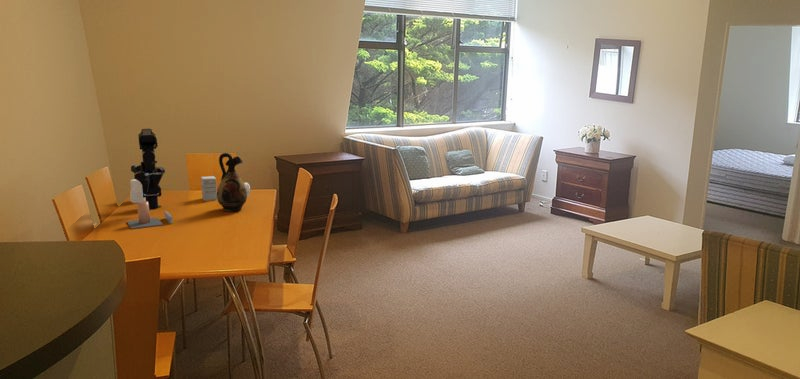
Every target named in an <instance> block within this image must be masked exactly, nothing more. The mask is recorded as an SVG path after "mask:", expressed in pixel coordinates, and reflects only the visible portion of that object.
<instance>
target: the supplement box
mask: <svg viewBox="0 0 800 379" xmlns="http://www.w3.org/2000/svg"><path fill="white" fill-rule="evenodd" d="M200 179H201V181H200V183H201V196H202V197H201V198H202V199H203V201H204V202H209V201H218V200H217V189H218V187H217V178H216V177H215V176H214V175H209V176H208V175H207V176H200Z"/></svg>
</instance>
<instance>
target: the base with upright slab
mask: <svg viewBox="0 0 800 379" xmlns="http://www.w3.org/2000/svg"><path fill="white" fill-rule="evenodd" d="M129 182H130V191H129V198H130V203H131V202H133V203H132V204H137V202H140V201H146V197H145V198H143V189H142V184H141V182H139V181H137V180H136V179H134V178H133V179H130V181H129ZM144 195H145V194H144Z"/></svg>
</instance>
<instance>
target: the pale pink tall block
mask: <svg viewBox="0 0 800 379" xmlns="http://www.w3.org/2000/svg"><path fill="white" fill-rule="evenodd" d="M136 205H137V216H138V220H139V224H147V223H150V218H151V215H150V214H151V213H150V209H149V202H148V201H140V202H137V203H136Z"/></svg>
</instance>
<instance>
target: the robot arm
mask: <svg viewBox="0 0 800 379" xmlns="http://www.w3.org/2000/svg"><path fill="white" fill-rule="evenodd" d="M137 136H138V145H139V150H141V156H142V161H141V162H140V164H139V165H137V164H133V165H131V166H130V172H132V173H133V174H134V175H133V177H134V178H133V179H136V180H137V181H139V182H141V184H142V189H143V198H145V197H146V201H148V202H149V210H156V209H159V208H160V207H162V205H159V198H160V197H162V188H161V187H160V182H161V180H162V178H163V175H164V174H165V173H166V170H165V168H164V167H163V166H156V164H157V163H158V160H156V153H155V150H157V148H158V138H157V136H156V134H155V133H154V132H153V129H151V128H142V129H141V131H140V133H139V134H138V135H137ZM144 194H145V195H144Z"/></svg>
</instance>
